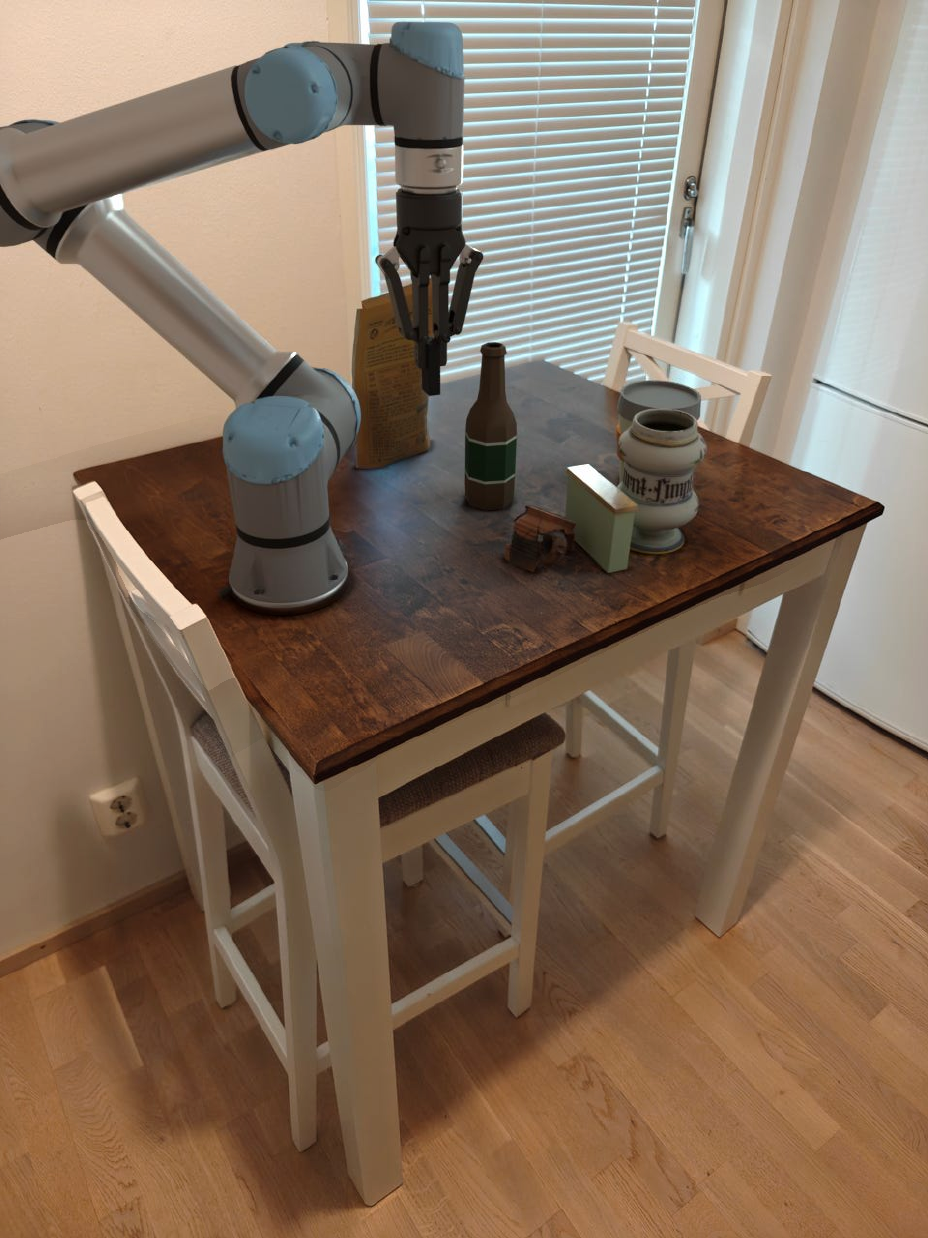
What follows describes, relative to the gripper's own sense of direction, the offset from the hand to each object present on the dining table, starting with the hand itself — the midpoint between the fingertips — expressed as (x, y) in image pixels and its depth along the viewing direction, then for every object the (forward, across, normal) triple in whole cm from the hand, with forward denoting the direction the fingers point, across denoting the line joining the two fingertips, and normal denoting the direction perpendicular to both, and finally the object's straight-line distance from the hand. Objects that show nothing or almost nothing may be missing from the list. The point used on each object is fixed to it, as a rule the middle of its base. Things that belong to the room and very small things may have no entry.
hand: (431, 391), depth 113 cm
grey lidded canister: (+23, +39, +6) cm, 45 cm away
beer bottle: (+23, +13, +10) cm, 28 cm away
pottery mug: (+23, +13, -9) cm, 27 cm away
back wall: (+22, +21, -9) cm, 32 cm away
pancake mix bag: (+23, +5, +30) cm, 38 cm away
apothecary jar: (+23, +30, -9) cm, 39 cm away
